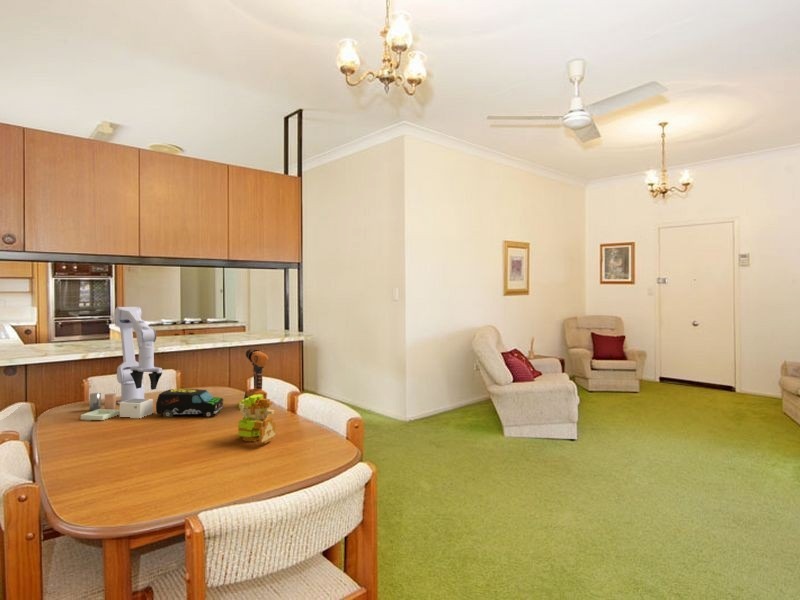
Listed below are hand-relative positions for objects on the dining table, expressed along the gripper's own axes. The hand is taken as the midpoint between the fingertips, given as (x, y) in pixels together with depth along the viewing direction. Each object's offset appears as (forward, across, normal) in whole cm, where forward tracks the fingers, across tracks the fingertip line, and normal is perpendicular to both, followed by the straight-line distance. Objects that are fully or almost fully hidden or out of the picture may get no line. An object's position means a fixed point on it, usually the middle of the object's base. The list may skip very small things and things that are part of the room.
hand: (146, 388), depth 200 cm
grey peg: (+9, -21, -6) cm, 23 cm away
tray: (+9, -9, -14) cm, 19 cm away
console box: (+9, +3, -8) cm, 13 cm away
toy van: (+10, +22, 0) cm, 24 cm away
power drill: (+10, +38, +23) cm, 45 cm away
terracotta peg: (+9, -14, -5) cm, 17 cm away
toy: (+9, +66, -21) cm, 70 cm away
